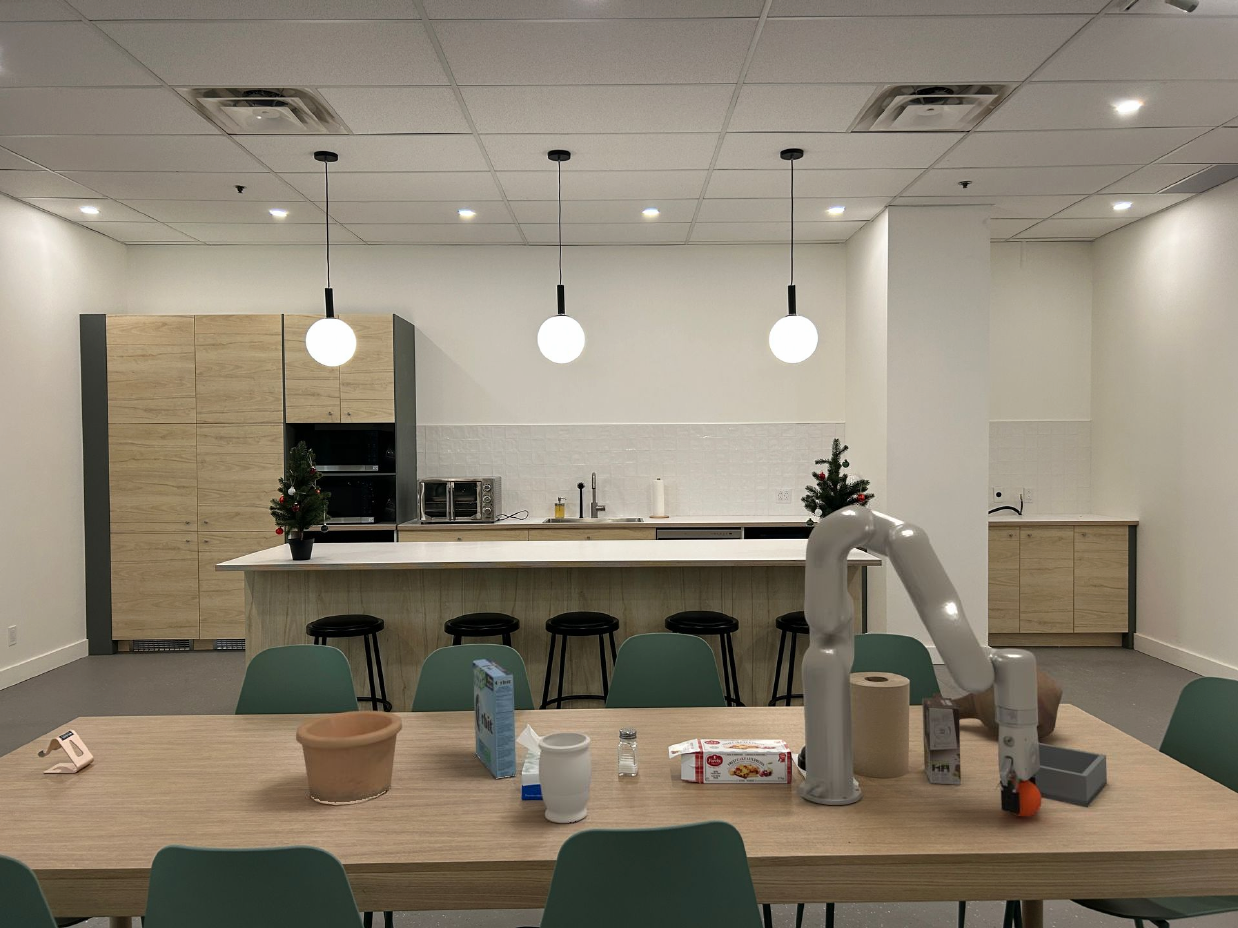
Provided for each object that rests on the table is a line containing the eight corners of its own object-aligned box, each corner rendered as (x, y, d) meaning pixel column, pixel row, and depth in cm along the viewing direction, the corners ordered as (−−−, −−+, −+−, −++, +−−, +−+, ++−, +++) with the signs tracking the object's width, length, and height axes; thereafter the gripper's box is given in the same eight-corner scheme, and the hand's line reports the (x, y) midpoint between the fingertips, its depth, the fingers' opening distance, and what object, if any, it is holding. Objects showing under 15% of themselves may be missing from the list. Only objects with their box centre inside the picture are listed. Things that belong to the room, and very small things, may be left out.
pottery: (278, 793, 183) (277, 726, 183) (370, 766, 199) (368, 704, 199) (328, 819, 168) (327, 747, 168) (423, 787, 184) (421, 721, 184)
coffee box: (962, 785, 179) (960, 708, 179) (930, 783, 180) (928, 707, 180) (954, 770, 188) (952, 697, 188) (923, 768, 189) (921, 696, 189)
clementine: (997, 819, 161) (996, 781, 161) (994, 805, 168) (993, 769, 168) (1044, 824, 158) (1043, 786, 158) (1039, 810, 165) (1038, 773, 165)
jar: (572, 830, 160) (570, 750, 161) (528, 819, 166) (527, 742, 166) (602, 810, 169) (601, 735, 170) (560, 801, 175) (559, 728, 175)
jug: (1078, 736, 209) (953, 737, 226) (1063, 655, 214) (943, 662, 231) (1060, 741, 193) (928, 742, 210) (1045, 653, 198) (918, 661, 216)
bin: (1087, 807, 166) (1086, 776, 166) (1001, 788, 177) (1000, 759, 177) (1106, 783, 178) (1106, 754, 178) (1025, 767, 188) (1024, 740, 188)
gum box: (516, 776, 190) (514, 674, 190) (494, 780, 188) (492, 676, 188) (494, 751, 208) (492, 657, 208) (474, 754, 206) (472, 659, 206)
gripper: (1022, 728, 154) (1025, 823, 154) (1050, 707, 167) (1053, 795, 167) (980, 721, 159) (983, 813, 159) (1010, 701, 172) (1013, 786, 172)
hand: (1019, 803), depth 163 cm, fingers open, 9 cm apart
